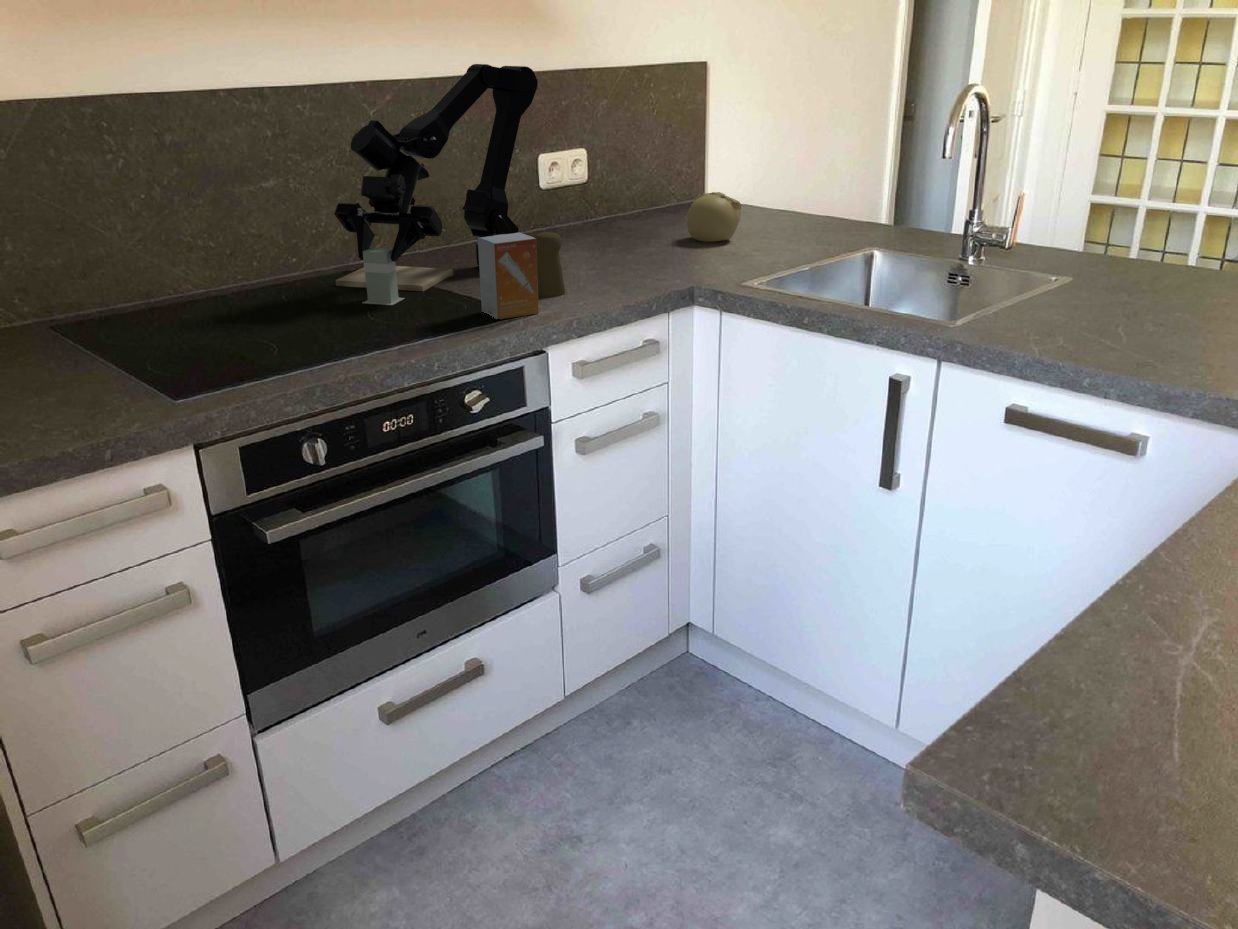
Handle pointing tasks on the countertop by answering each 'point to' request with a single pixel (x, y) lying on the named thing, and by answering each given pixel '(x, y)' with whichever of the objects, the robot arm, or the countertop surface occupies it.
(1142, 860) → the countertop surface
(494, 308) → the small box
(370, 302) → the white flat rectangular tile
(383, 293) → the carton
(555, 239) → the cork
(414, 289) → the oak board
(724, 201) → the green persimmon
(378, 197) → the robot arm
